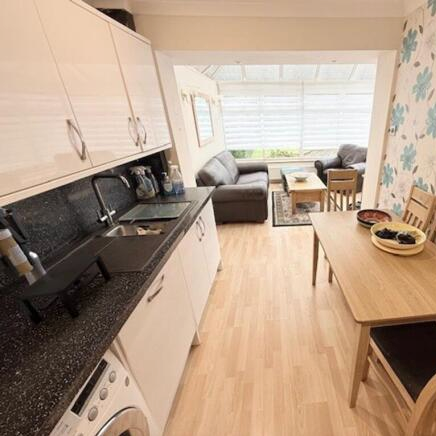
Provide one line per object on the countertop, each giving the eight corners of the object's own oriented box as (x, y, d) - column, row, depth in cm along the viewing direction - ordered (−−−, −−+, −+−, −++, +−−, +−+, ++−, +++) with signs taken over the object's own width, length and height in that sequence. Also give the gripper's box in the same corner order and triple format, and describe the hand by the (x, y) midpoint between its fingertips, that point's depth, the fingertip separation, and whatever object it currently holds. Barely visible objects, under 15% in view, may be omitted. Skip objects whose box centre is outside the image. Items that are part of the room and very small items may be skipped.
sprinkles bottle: (7, 277, 68) (-23, 236, 62) (25, 267, 72) (-2, 227, 66) (21, 277, 67) (-8, 236, 61) (38, 267, 71) (12, 227, 65)
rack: (34, 324, 83) (14, 298, 77) (76, 282, 102) (63, 259, 97) (77, 317, 84) (60, 291, 79) (111, 277, 104) (99, 254, 98)
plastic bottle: (34, 288, 101) (7, 248, 92) (55, 280, 105) (31, 241, 96) (33, 295, 96) (4, 254, 88) (55, 287, 100) (29, 247, 91)
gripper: (-56, 206, 52) (6, 289, 62) (18, 183, 67) (58, 252, 77) (-95, 210, 51) (-25, 293, 61) (-11, 185, 67) (33, 254, 77)
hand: (21, 270), depth 69 cm, fingers closed on sprinkles bottle, 4 cm apart
